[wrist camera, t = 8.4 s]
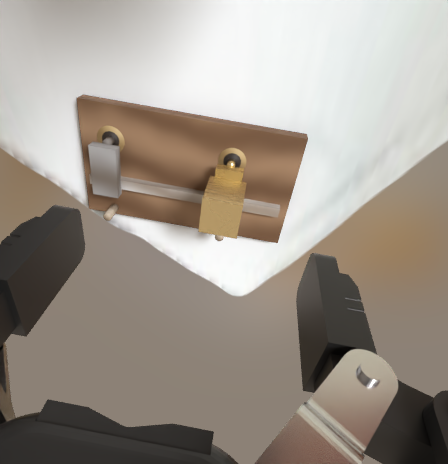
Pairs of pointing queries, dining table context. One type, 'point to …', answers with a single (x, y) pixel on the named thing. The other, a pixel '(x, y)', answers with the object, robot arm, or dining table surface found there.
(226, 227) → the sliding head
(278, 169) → the wooden slider board
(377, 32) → the dining table surface
